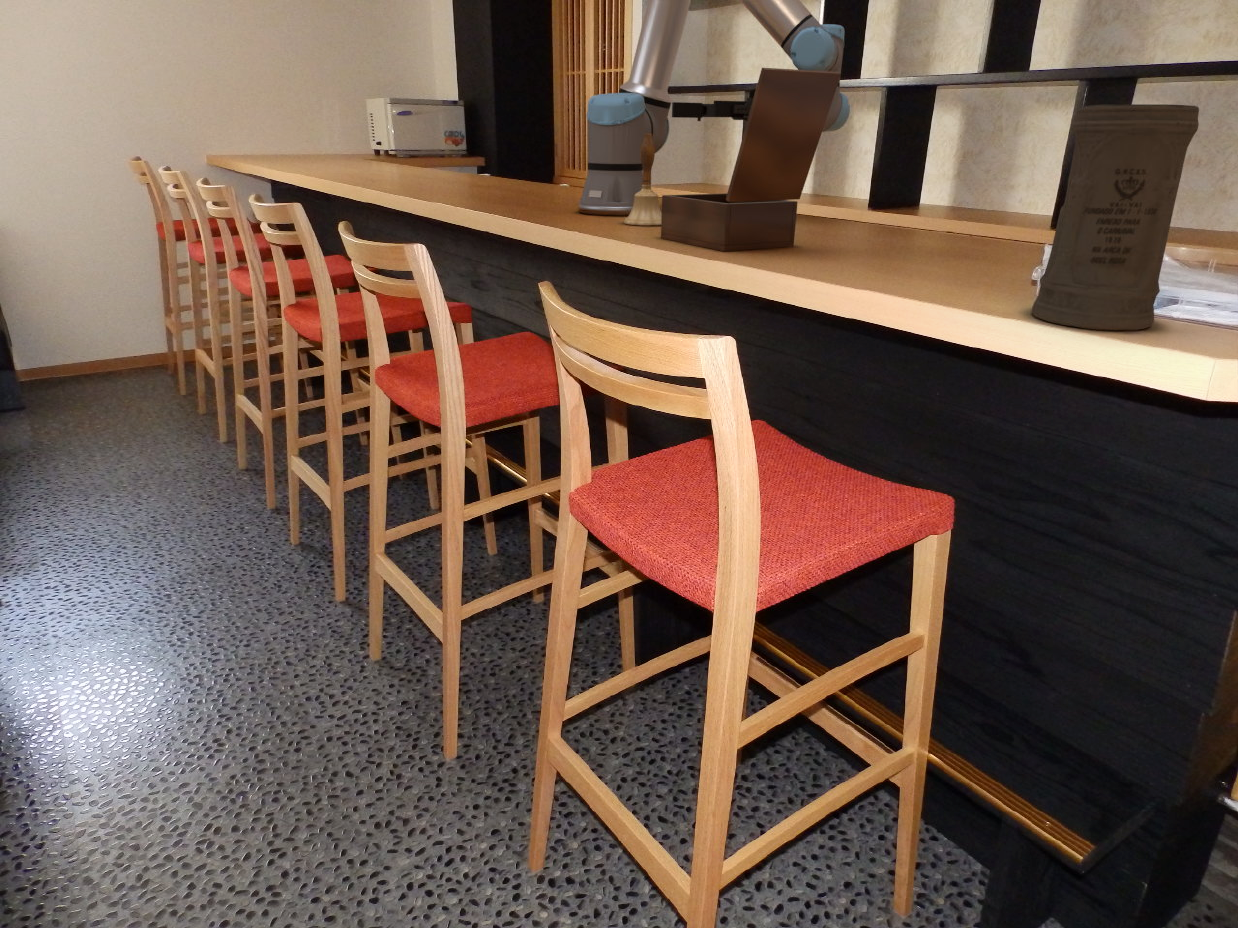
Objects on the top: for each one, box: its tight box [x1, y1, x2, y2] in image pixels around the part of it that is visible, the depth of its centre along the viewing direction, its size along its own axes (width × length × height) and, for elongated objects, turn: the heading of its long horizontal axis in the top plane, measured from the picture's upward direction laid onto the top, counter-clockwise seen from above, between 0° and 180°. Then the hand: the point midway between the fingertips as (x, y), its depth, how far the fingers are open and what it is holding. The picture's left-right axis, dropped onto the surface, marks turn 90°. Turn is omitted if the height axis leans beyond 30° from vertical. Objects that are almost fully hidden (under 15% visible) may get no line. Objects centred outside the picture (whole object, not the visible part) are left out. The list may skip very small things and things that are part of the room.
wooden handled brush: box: [623, 134, 662, 226], centre depth 157 cm, size 8×8×16 cm
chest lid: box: [726, 67, 842, 202], centre depth 120 cm, size 18×14×1 cm
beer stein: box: [1030, 103, 1200, 331], centre depth 82 cm, size 15×11×20 cm
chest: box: [660, 192, 798, 252], centre depth 134 cm, size 18×14×7 cm
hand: (692, 109), depth 157 cm, fingers open, 13 cm apart
